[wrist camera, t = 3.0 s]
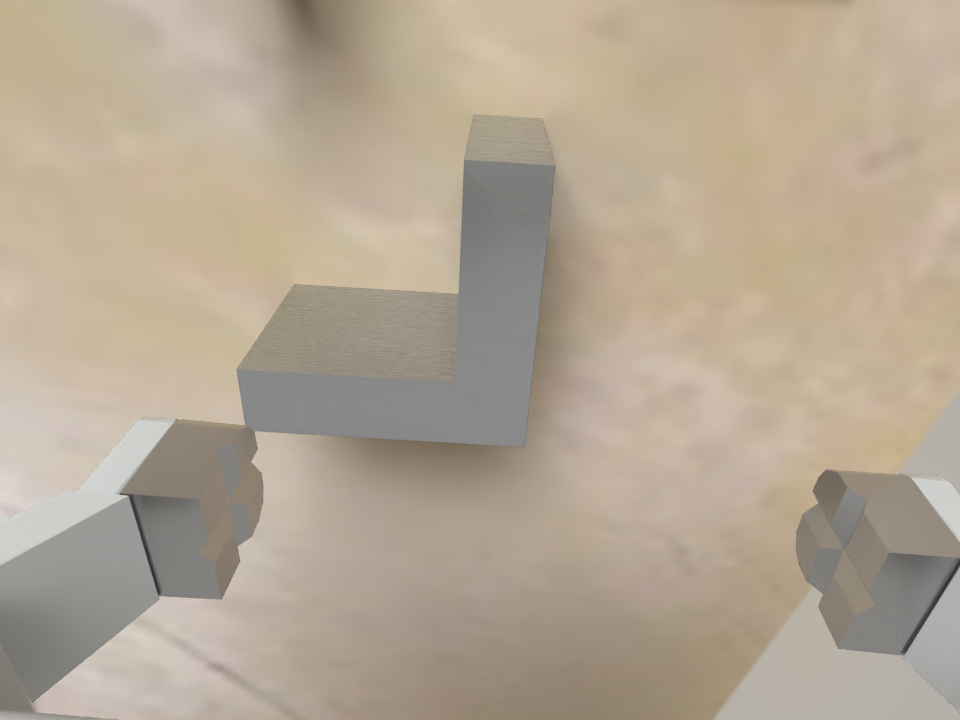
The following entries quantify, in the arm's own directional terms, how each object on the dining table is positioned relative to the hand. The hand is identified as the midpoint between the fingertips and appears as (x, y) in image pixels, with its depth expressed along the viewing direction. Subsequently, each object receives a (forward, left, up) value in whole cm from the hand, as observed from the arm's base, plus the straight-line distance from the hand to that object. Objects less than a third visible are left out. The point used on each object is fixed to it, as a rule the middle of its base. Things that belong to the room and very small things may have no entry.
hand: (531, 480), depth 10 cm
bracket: (0, +3, -11) cm, 11 cm away
